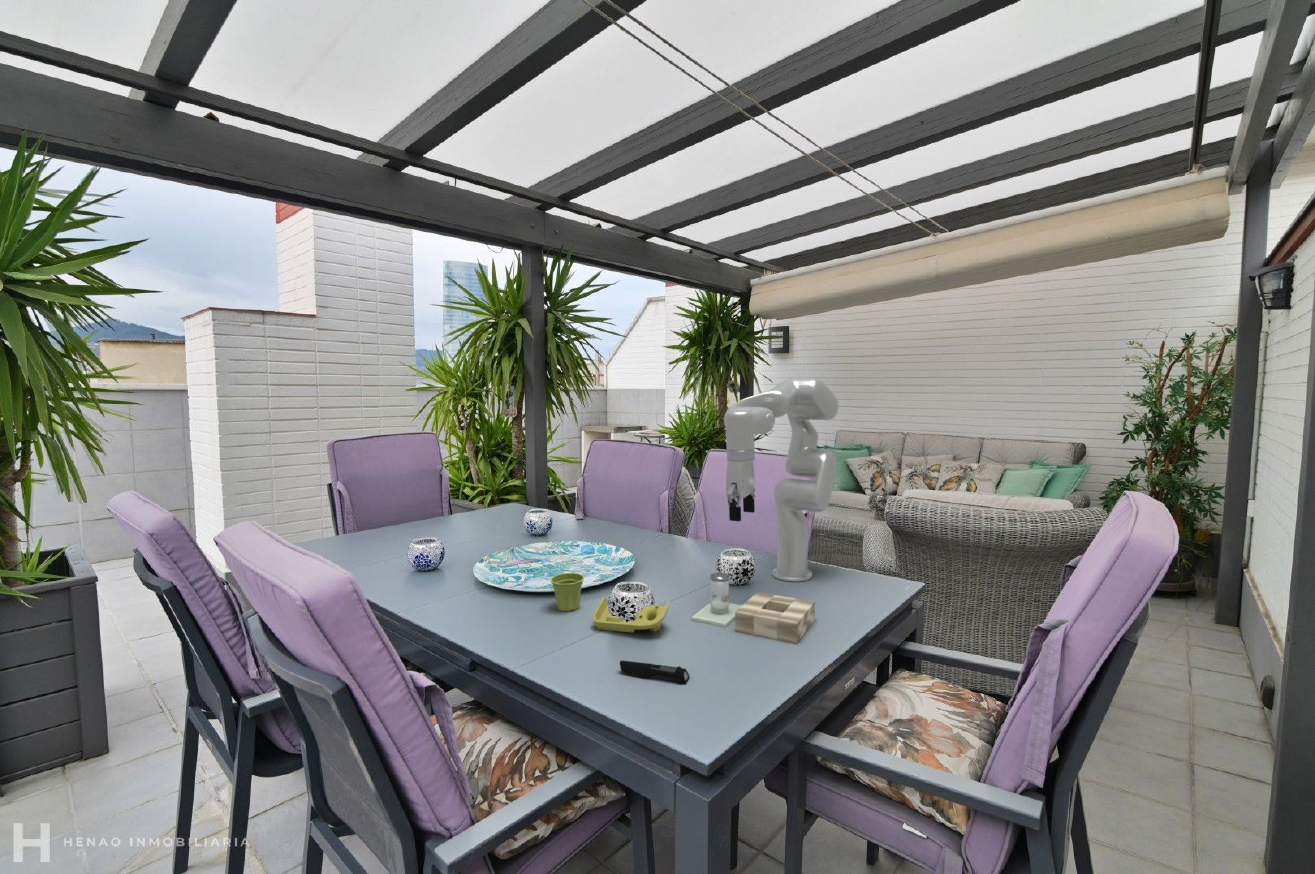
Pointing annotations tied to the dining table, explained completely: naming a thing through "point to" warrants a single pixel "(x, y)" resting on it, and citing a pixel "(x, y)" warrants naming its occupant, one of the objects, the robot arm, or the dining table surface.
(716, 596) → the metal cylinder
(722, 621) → the mat
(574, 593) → the plant pot
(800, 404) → the robot arm
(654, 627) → the plastic component
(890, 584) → the dining table surface
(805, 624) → the bore block
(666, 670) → the electric trimmer
